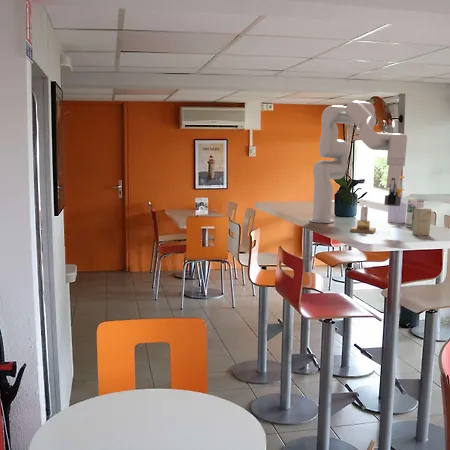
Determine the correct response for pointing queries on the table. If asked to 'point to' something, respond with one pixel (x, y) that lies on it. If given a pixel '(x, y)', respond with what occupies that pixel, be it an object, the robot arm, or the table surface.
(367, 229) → the post stand
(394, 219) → the soap bottle
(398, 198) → the ring
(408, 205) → the syrup box
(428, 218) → the skincare box
